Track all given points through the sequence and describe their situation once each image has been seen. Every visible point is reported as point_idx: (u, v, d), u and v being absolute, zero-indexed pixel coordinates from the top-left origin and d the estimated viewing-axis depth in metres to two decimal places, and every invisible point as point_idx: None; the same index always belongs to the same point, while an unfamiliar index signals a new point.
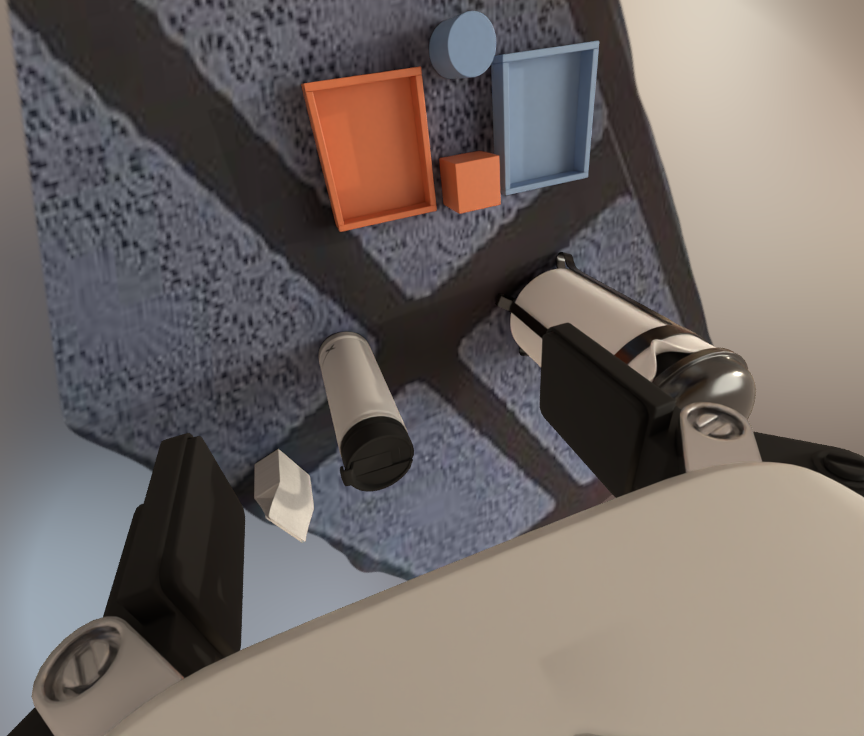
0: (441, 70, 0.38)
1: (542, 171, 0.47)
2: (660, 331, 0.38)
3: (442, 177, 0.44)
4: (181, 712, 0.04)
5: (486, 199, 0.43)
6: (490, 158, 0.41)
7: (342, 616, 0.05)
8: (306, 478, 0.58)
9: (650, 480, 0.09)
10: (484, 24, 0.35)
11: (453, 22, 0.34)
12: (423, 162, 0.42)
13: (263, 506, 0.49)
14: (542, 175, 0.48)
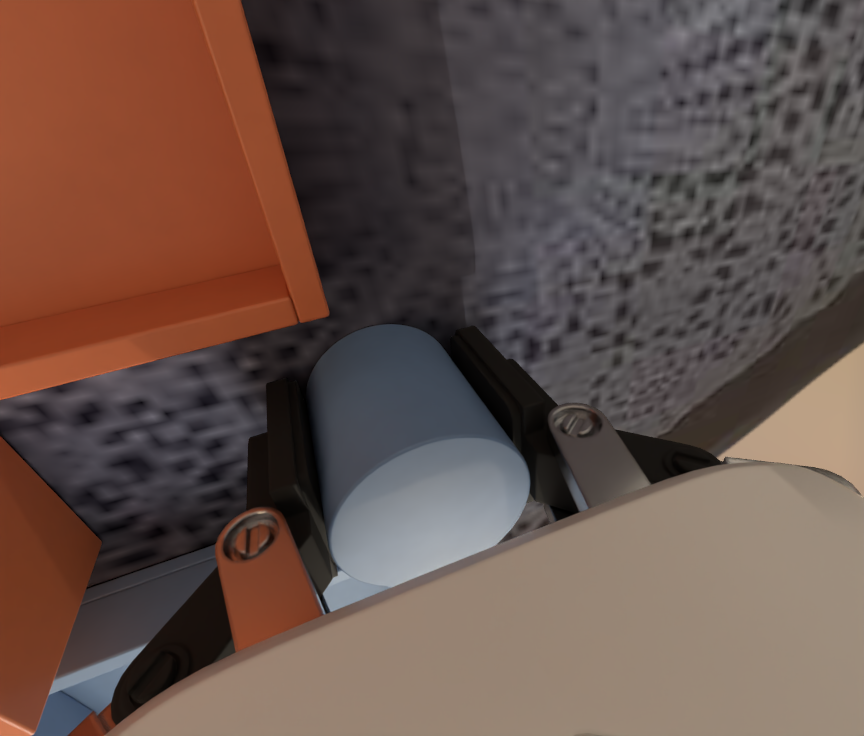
0: (327, 386, 0.10)
1: None
2: None
3: None
4: (181, 712, 0.04)
5: None
6: None
7: (342, 616, 0.05)
8: None
9: (530, 477, 0.10)
10: (493, 531, 0.10)
11: (502, 438, 0.08)
12: None
13: None
14: (99, 709, 0.15)
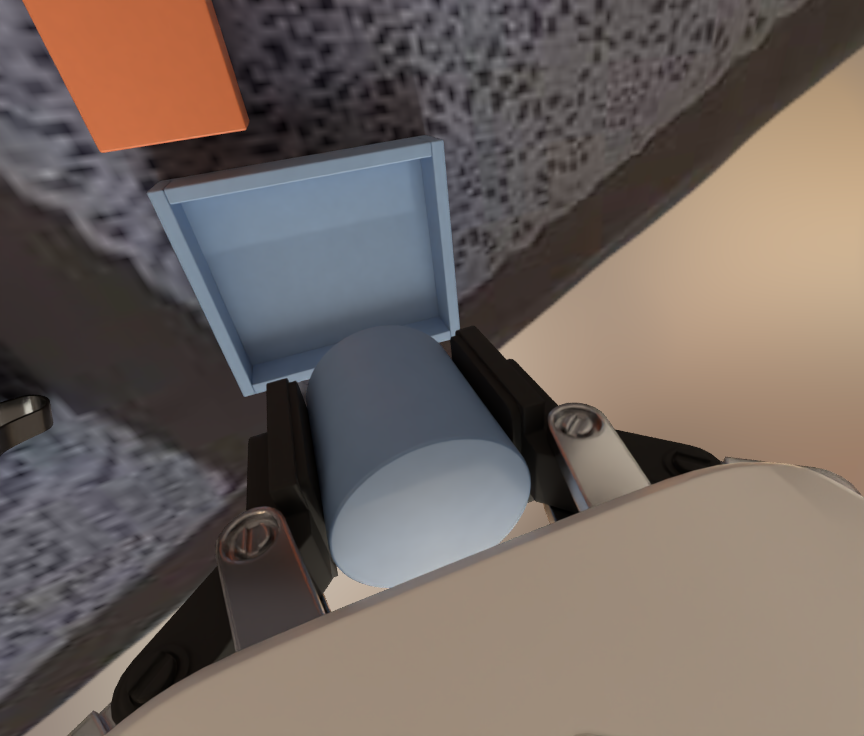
0: (327, 387, 0.10)
1: (235, 297, 0.21)
2: None
3: None
4: (181, 712, 0.04)
5: (101, 91, 0.13)
6: (232, 97, 0.14)
7: (342, 616, 0.05)
8: None
9: None
10: (493, 532, 0.10)
11: (502, 439, 0.08)
12: None
13: None
14: (226, 300, 0.21)
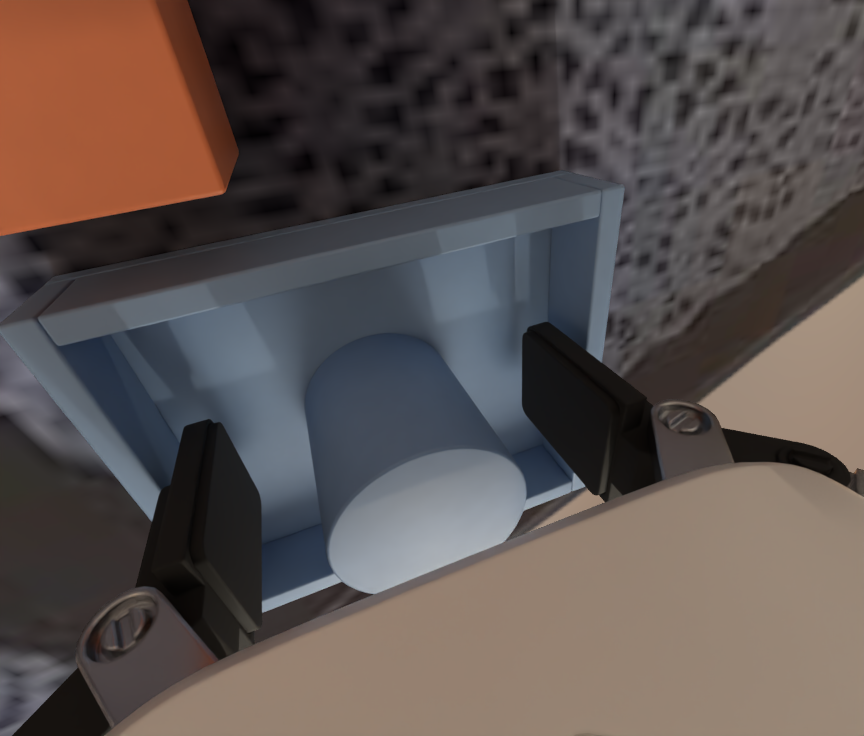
0: (326, 395, 0.10)
1: None
2: None
3: None
4: (181, 712, 0.04)
5: None
6: (181, 104, 0.05)
7: (342, 616, 0.05)
8: None
9: (623, 476, 0.09)
10: (490, 539, 0.10)
11: (498, 448, 0.08)
12: None
13: None
14: None
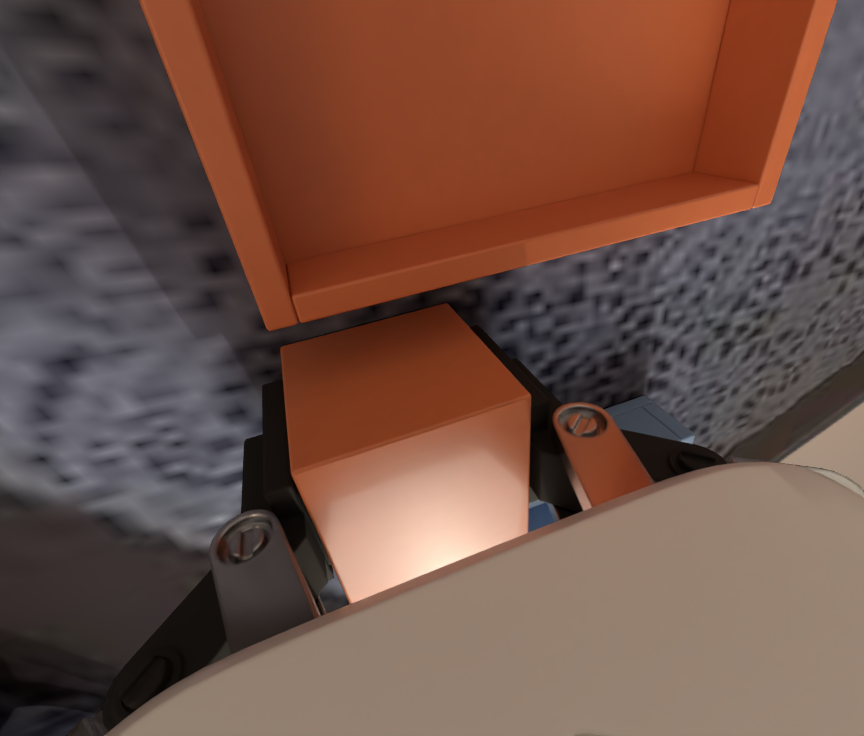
0: None
1: None
2: None
3: (390, 327, 0.11)
4: (181, 712, 0.04)
5: (373, 556, 0.09)
6: (524, 514, 0.10)
7: (342, 616, 0.05)
8: None
9: (534, 476, 0.10)
10: None
11: None
12: (473, 238, 0.09)
13: None
14: None
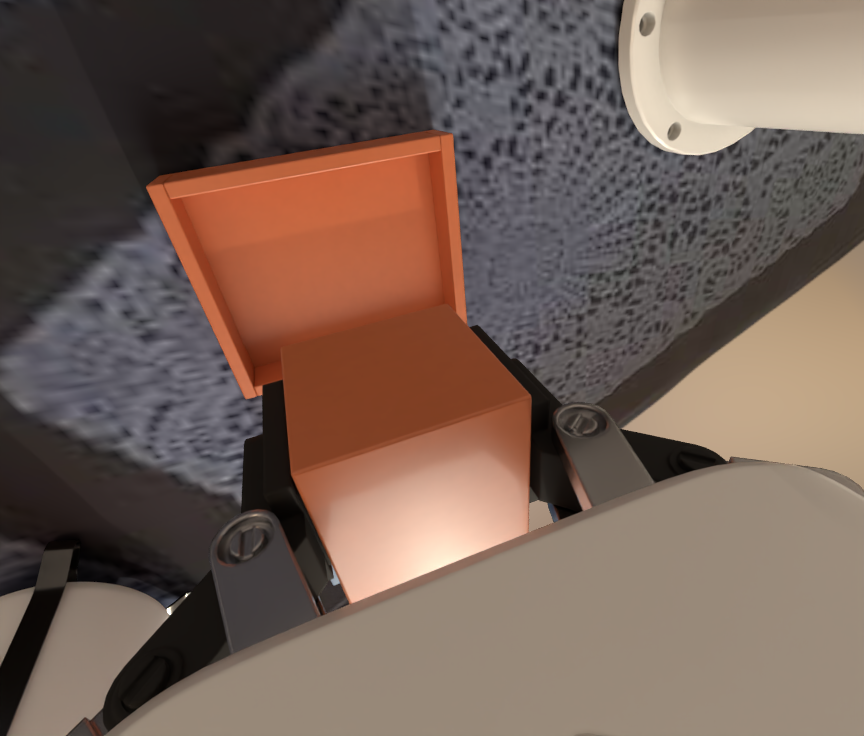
0: None
1: None
2: None
3: (391, 327, 0.11)
4: (181, 712, 0.04)
5: (373, 557, 0.09)
6: (525, 515, 0.10)
7: (342, 616, 0.05)
8: None
9: (534, 476, 0.10)
10: None
11: None
12: None
13: None
14: None
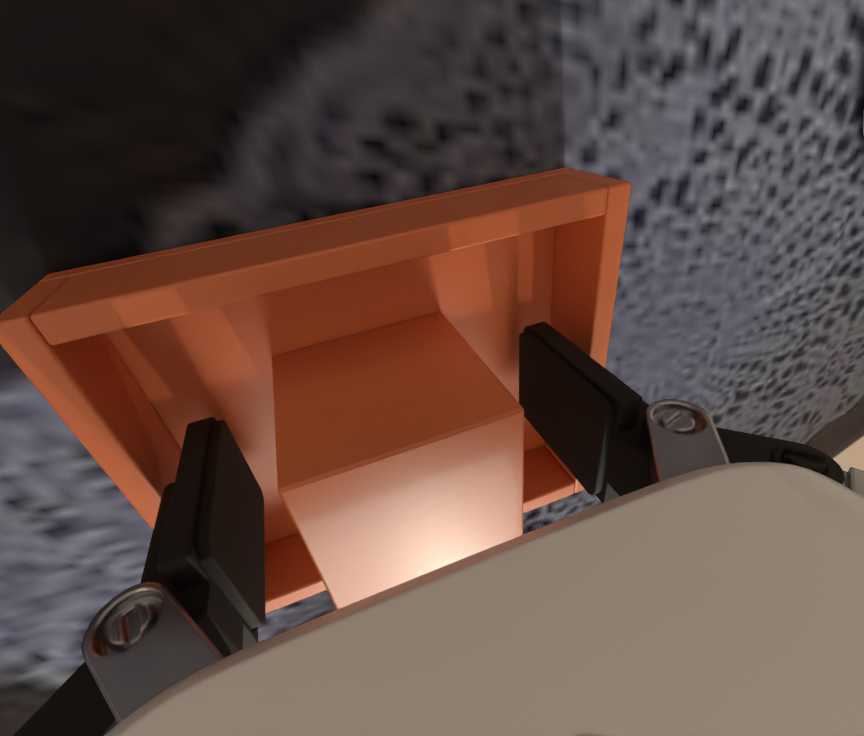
0: None
1: None
2: None
3: (384, 336, 0.11)
4: (181, 712, 0.04)
5: (364, 572, 0.09)
6: (519, 527, 0.10)
7: (342, 616, 0.05)
8: None
9: (619, 475, 0.09)
10: None
11: None
12: None
13: None
14: None
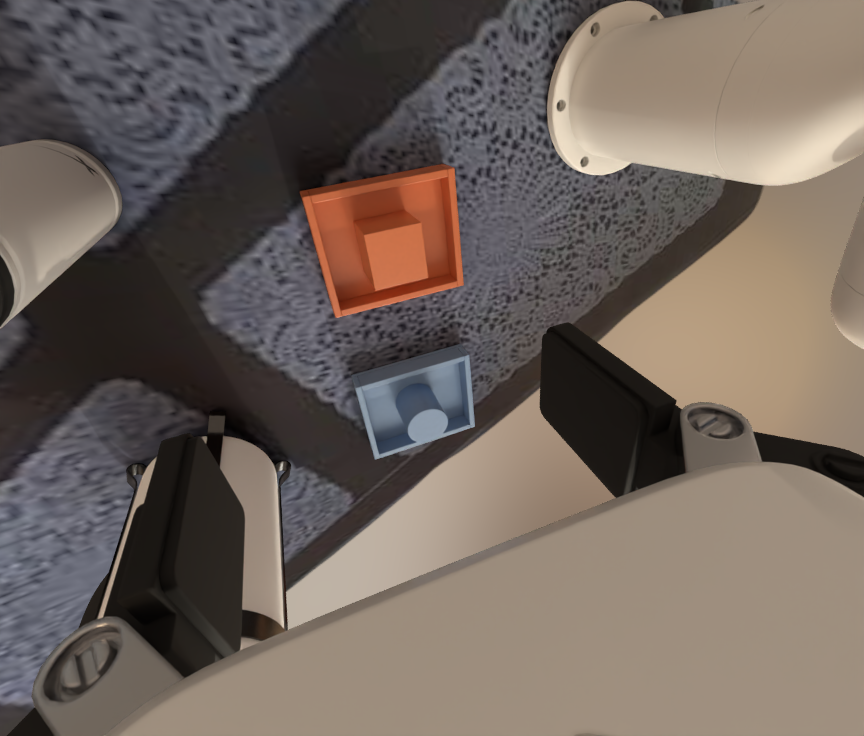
0: (403, 399, 0.45)
1: (373, 415, 0.47)
2: None
3: (386, 215, 0.36)
4: (181, 712, 0.04)
5: (381, 270, 0.34)
6: (425, 267, 0.35)
7: (342, 616, 0.05)
8: None
9: (650, 480, 0.09)
10: (440, 430, 0.45)
11: (440, 409, 0.43)
12: (382, 296, 0.38)
13: None
14: (369, 416, 0.47)
